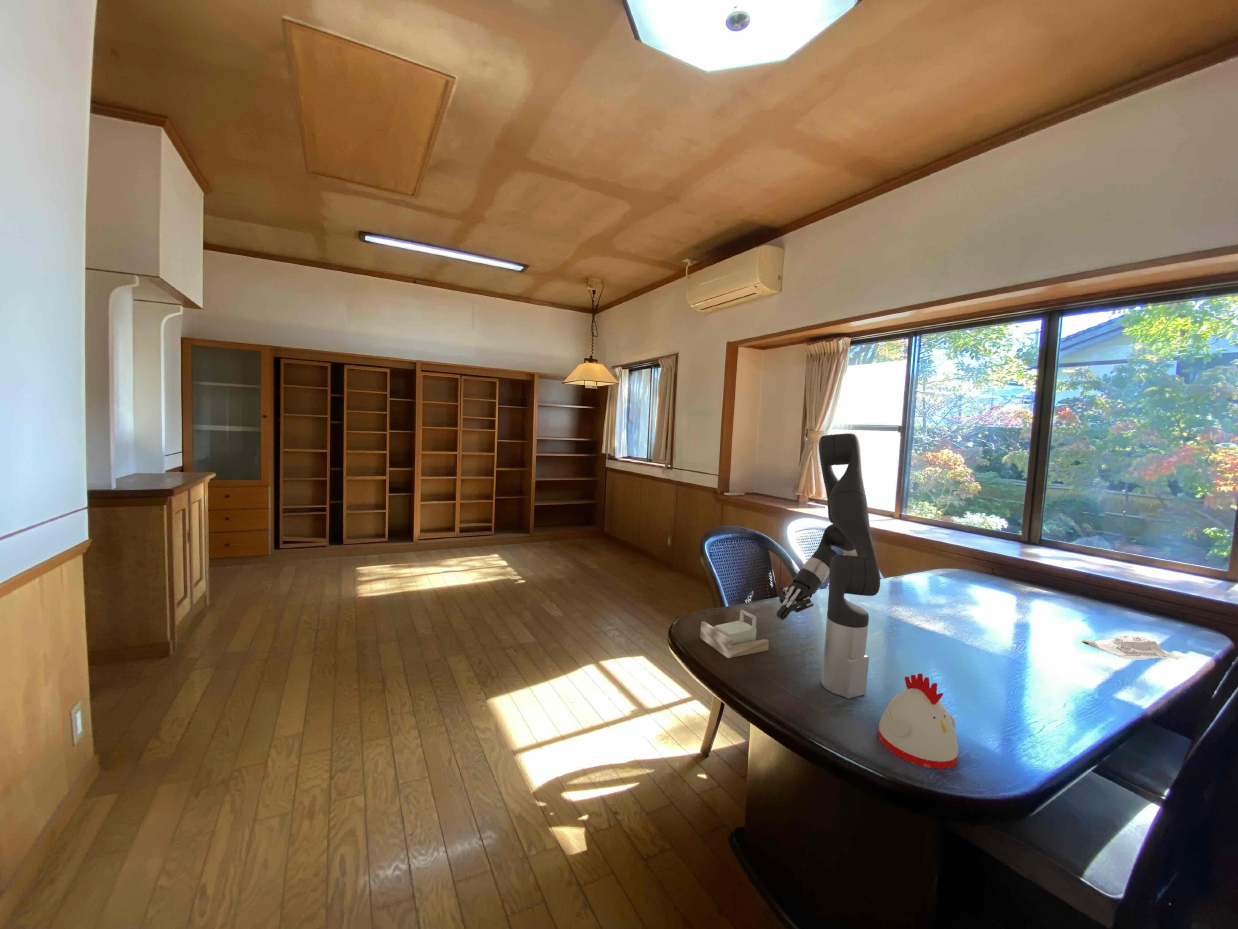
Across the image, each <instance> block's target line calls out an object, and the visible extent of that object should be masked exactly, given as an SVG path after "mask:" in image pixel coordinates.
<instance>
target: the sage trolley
mask: <svg viewBox="0 0 1238 929" xmlns="http://www.w3.org/2000/svg"><path fill="white" fill-rule="evenodd" d="M745 616H747V617H749V618H751V624H749V623H747V622H745V621H744V620H745ZM714 626H715V629H717V630H718V631H720V632H721V633H723V634H724V635H726V636H727V637H729V638H730V639H732V640H733V642H732V645H733V644H739V643H744V642H750V641H756V640H757V630H758V629H757V617H756V615H754V614H752V613H750V612H747V611H746V610H743V609H741V610H740V611H739V620H736V621H731V622H727V623H726V622H725V623H721V624H716V625H714Z"/></svg>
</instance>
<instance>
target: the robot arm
mask: <svg viewBox="0 0 1238 929" xmlns="http://www.w3.org/2000/svg"><path fill="white" fill-rule="evenodd" d="M818 454H819V455H818V456H819V461H820V462H819V463H820V467H821V468H820V469H821V473H822V479H823V484H824V488H825V493H826V499H827V500H826V501H827V514H828V520H829V522H830V523H831V524H830V525H828V526H827V527H826V528H825V529H824V531H823V534H822V536H821V539H820V542H819V543H818V544H819V545H818V546H817V549H816V550H815V552H814V553H812V555H811V557H809V559H808V560H807V561H806V562H805V563H804V564H803V565H802V567H801V568H800V569H799V570H798V572H797V573H796V574H795V575H794V576H793V580H792V582H791V583H790V584H788V586H787V587H784V586H782V585H781V586H780V587H779V593H778V594H779V597H778V598H779V599H778V601H779V603H780V604H781V606H780V608H779V609H778V610H777V611H776V617H777V618H778V619H779V620H781V621H784V620H786V619H787V617H788V616H789V615H790V614H791V613H792V612H795V613H799V612H802V611H805V610H806V609H809V608H812V607H814V603H813V601H812V597H813V595H814V594H816V593H817V592H818V590H819V589H820V587H821V586H822V585H823V583H824V582H825V581H826V580H827V578H828V598H827V599H828V600H827V611H826V612H827V613H826V624H825V632H824V633H825V636H824V646H823V656H822V660H823V661H822V671H821V673H822V674H821V681H820V682H821V685H822V687H823V688H825V689H826V690H827V691H829V692H831V693H832V694H834V695H838V696H840V697H844V698H845V699H850V700H851V699H853V698H858V697H861V696H863V695H864V696H865V695H866V694H867V693H866V692H867V682H868V673H869V672H868V671H869V660H870V657H869V656H868V655H866V654H867V652H866V650H867V641H868V627H869V619H870V616H869V612H868V611H867V610H865V609H864V608H863V607H861V606H859V605H857V604H854V603H853V602H851V601H849V600H847V599H846V597H845V594H847V595H855V596H862V597H863V596H865V597H873V596H876V595H877V594H878V593H879V591H880V588H881V573H880V572H881V571H880V567H879V562H878V559H877V555H876V550H875V547H874V543H873V538H872V533H871V525H870V516H869V508H868V507H869V506H868V501H867V495H866V490H865V485H864V479H863V473H862V459H861V446H860V442H859V438H858V436H857V435H856V434H854V433H848V432H847V433H846V432H845V433H838V434H837V433H836V434H835V433H834V434H824V435H822V436H821V437H820V438H819V442H818ZM842 465H843V466H845V465H847V468H846V469H845V472H844V473H843V475H842V476H840V478H839V479H838V477H837V476H836V474H835V472H834V470H833V466H842ZM832 547H835V548H839V549H841V550H843V551H845V552H853V551H855V552H856V555H857V556H856V555H849V554H848V555H847V554H838V552H836V551H835V550H834V549H832Z"/></svg>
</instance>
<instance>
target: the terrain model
mask: <svg viewBox="0 0 1238 929" xmlns="http://www.w3.org/2000/svg"><path fill="white" fill-rule="evenodd" d="M1081 641H1082V643H1083V642H1084V643H1086V644H1087V645H1088V646H1091V647H1094V648H1097V649H1100V650H1101V651H1104V652H1107V653H1109V654H1112V655H1115V656H1117V657H1120V658H1122V659H1125V660H1127V659H1128V660H1137V661H1138V660H1141V661H1142V660H1143V661H1145V660H1150V659H1163V660H1167V659H1168V658H1170V659H1173V660H1180V659H1186V657H1185V656H1182V655H1178V654H1176V653H1175V654H1174V653H1172V652H1169V651H1166V650H1164V649H1162V648H1161V647H1160V645H1159V644H1158V643H1157V641H1156V640H1153V639H1148V638H1145V637H1144V636H1141V637H1139V636H1129V635H1120V636H1117V637H1115V638H1113V639H1100V640H1093V639H1082V640H1081Z"/></svg>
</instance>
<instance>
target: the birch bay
mask: <svg viewBox="0 0 1238 929" xmlns="http://www.w3.org/2000/svg"><path fill="white" fill-rule="evenodd" d="M715 626H716V625H714V626H713V625H711V624H709V623H708V622H707V621H704V620H703V621H701V622H700V634H699V635H700V636H699V638H700V639H701V640H702V641H704V642H705V643H707V644H708V645H709V646H711V647H712V648H713V649H715V651H717V652H718V653H720V654H721V655H723V656H725V658H727V659H731V658H735V657H741V656H746V655H753V654H757V653H763V652H768V651H769V645H770V644H769V642H770V640H769V639H767V638H763V639H762V638H761V639H756V641H750V642H744V643H739V644H733V645H732V642H733V640H732V639H730V638H729V637H727V636H726V635H724V634H723V633H721V632H720V631H718V630H717V629H715Z"/></svg>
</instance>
